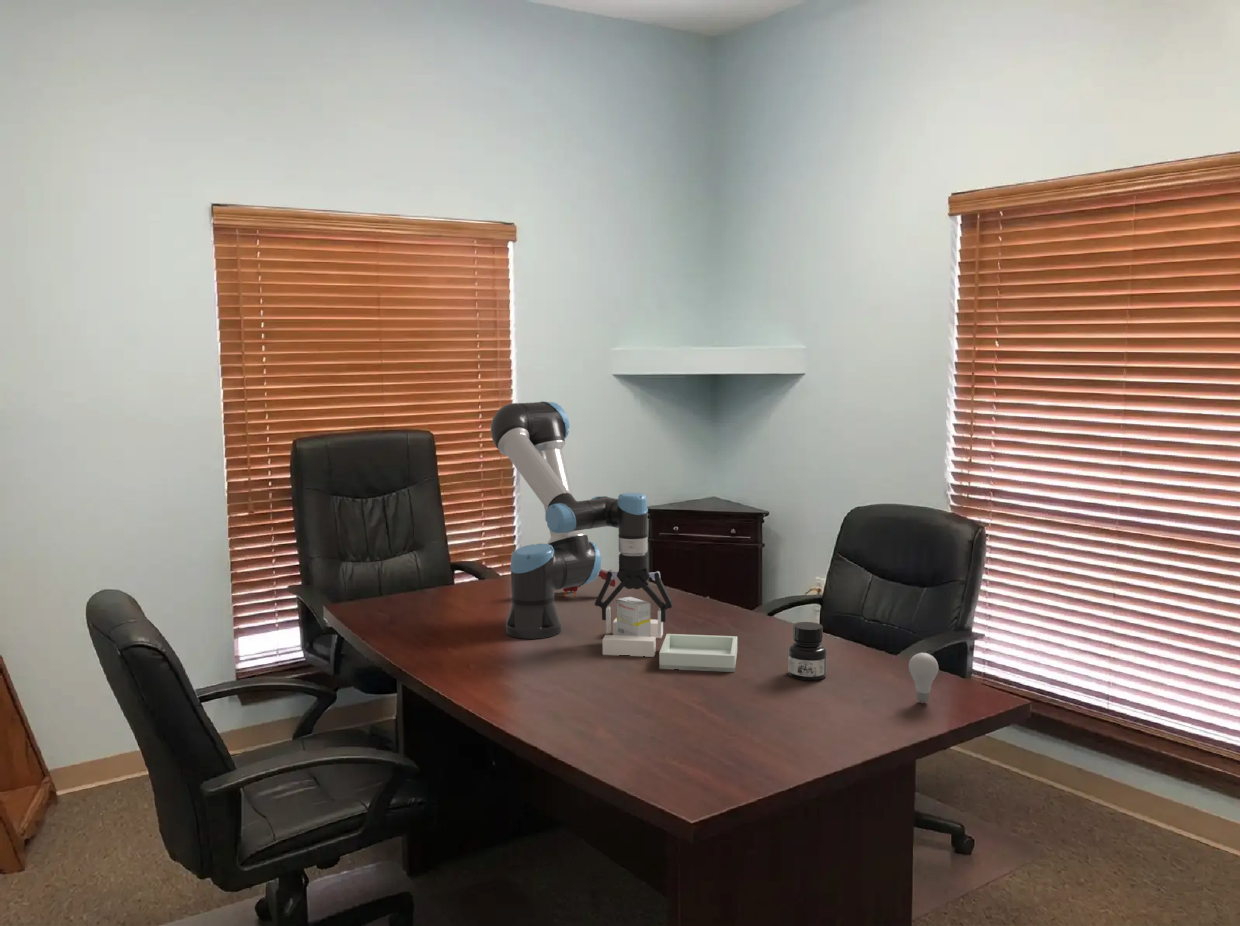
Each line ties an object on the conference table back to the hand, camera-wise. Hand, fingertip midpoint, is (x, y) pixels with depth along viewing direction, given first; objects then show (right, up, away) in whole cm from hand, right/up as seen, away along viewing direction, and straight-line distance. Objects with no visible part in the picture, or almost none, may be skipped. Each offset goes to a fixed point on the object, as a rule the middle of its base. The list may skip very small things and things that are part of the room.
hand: (634, 633), depth 253 cm
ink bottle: (+40, -6, -25) cm, 48 cm away
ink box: (0, -3, 0) cm, 3 cm away
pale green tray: (+16, -4, -13) cm, 21 cm away
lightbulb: (+62, -8, -44) cm, 76 cm away
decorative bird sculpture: (-19, +2, +51) cm, 54 cm away
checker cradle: (0, -3, 0) cm, 3 cm away
